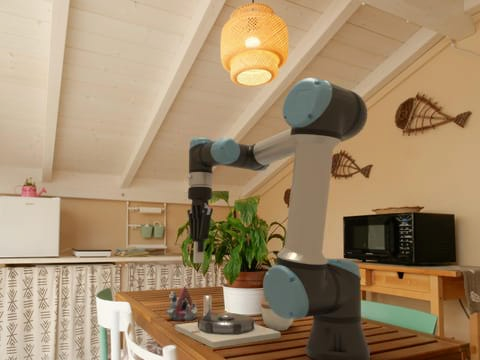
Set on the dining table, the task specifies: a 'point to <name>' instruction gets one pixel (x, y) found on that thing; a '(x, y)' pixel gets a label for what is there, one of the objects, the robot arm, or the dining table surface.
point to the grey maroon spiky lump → (182, 307)
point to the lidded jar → (274, 318)
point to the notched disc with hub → (223, 320)
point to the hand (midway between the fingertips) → (198, 262)
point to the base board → (227, 335)
